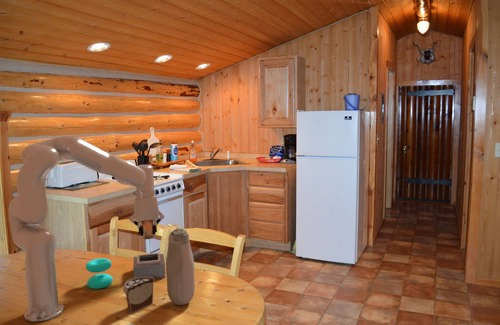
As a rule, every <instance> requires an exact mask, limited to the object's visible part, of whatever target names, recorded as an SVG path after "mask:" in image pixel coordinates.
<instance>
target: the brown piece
mask: <svg viewBox="0 0 500 325" xmlns="http://www.w3.org/2000/svg"><path fill="white" fill-rule="evenodd" d="M155 280H156V279H154V277H150V276H140V277H135V278H134V277H132V278H130V279H128V280H126V281H125V283H124V285H123V289H122V290H123V293H124V294H125V297H126V298H125V299H126V303H127V309H128V310H127V311H128V313H129V314H131V315H132V314H134V313H136V312H138V311H141V310H143V309H145V308H146V307H149V306H151V305H153V303H154V283H156V281H155ZM144 307H145V308H144ZM142 308H143V309H142Z"/></svg>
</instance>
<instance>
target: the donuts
mask: <svg viewBox="0 0 500 325" xmlns="http://www.w3.org/2000/svg"><path fill="white" fill-rule="evenodd" d="M112 265H113V264H112V260H110V259H108V258H105V257H101V258H95V259H91V260H89V261H88V262H87V263H86V264H85V269H86V270H87V271H88V272H90V273H94V275H91V276H90V277H89V278H88V279H87V282H86V285H87V287H89V289H92V290H93V289H94V290H98V289H103V288H107V287H109V286H110V285H111V284H112V283H113V280H114V278H113V277H112V276H111V275H110V274H108V273H103V272H105V271H108V270H109V269H110V268H111V267H112ZM96 273H97V274H96Z"/></svg>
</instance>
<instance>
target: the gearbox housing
mask: <svg viewBox="0 0 500 325" xmlns="http://www.w3.org/2000/svg"><path fill="white" fill-rule="evenodd" d="M132 268H133V272H132V273H133V278H135V277H140V276H150V277H154V280H156V279H163V278H165V279H166V261H165V257H164V253H160V252H156V253H144V254H137V256H133V266H132Z"/></svg>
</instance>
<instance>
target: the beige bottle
mask: <svg viewBox="0 0 500 325" xmlns="http://www.w3.org/2000/svg"><path fill="white" fill-rule="evenodd" d="M167 242H168V245H167V252H166V258H165V277H166V289H167V290H166V291H167V295H168V298H169V300H170V301H171V302H172V303H173V304H174V305H177V306H185V305H187V304H189V303H190V302H191V301H192V299H193V298H194V296H195V288H196V287H195V285H196V284H195V282H196V281H195V259H194V254H193V251H192V247H191V242H190V236H189V233H188V231H187V230H186V229H184V228H175V229H173V230H171V232H170V233H169V236H168V241H167Z"/></svg>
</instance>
